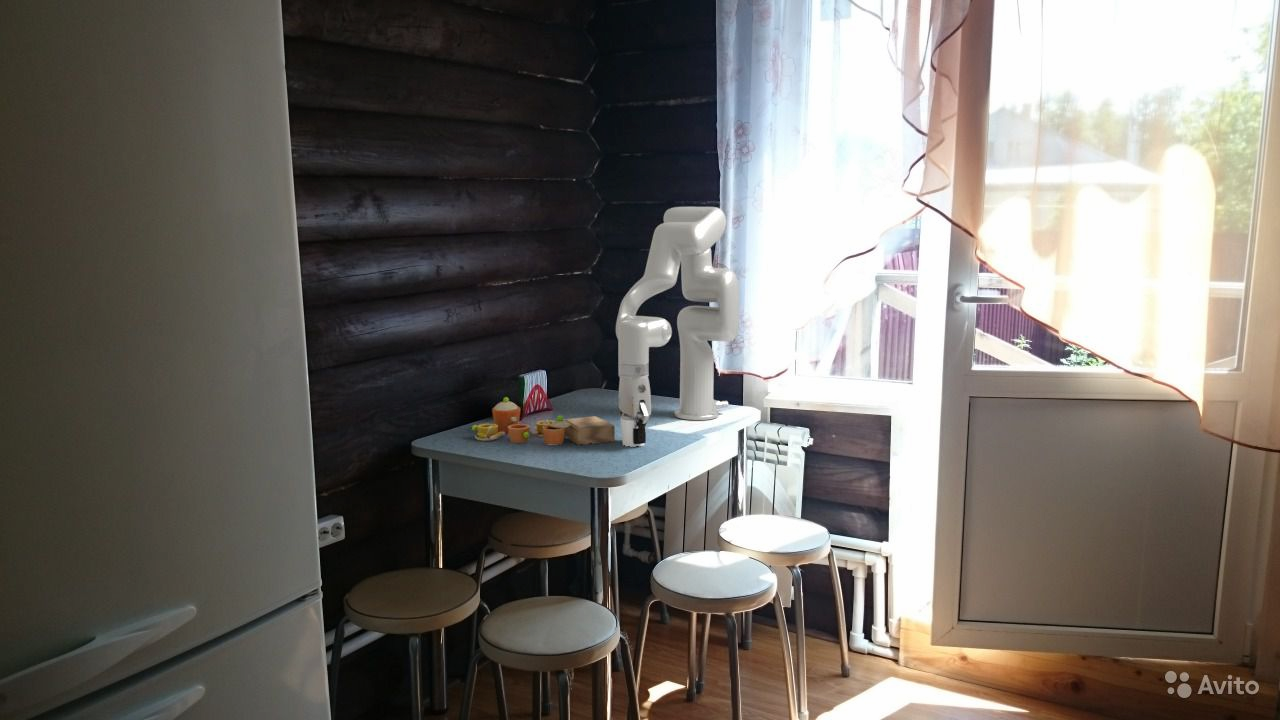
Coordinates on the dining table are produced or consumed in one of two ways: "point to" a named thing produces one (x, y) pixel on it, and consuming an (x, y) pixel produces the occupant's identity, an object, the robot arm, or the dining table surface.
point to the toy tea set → (519, 426)
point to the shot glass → (628, 430)
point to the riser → (589, 430)
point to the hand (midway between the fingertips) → (633, 439)
